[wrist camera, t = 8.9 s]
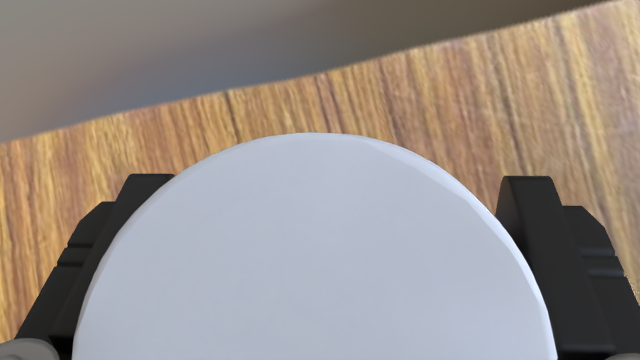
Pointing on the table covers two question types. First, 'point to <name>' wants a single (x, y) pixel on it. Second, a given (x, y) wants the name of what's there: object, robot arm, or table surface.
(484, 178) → the table surface
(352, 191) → the pill bottle
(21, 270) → the table surface
